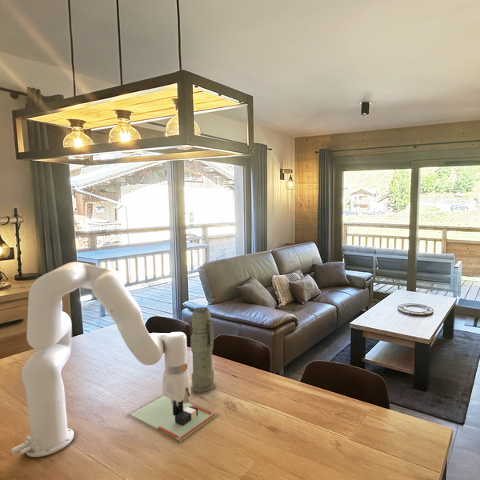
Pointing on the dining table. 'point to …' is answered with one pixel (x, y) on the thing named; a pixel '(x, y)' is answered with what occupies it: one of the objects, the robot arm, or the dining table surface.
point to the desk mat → (171, 418)
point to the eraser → (186, 415)
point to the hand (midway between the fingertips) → (178, 413)
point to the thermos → (202, 349)
